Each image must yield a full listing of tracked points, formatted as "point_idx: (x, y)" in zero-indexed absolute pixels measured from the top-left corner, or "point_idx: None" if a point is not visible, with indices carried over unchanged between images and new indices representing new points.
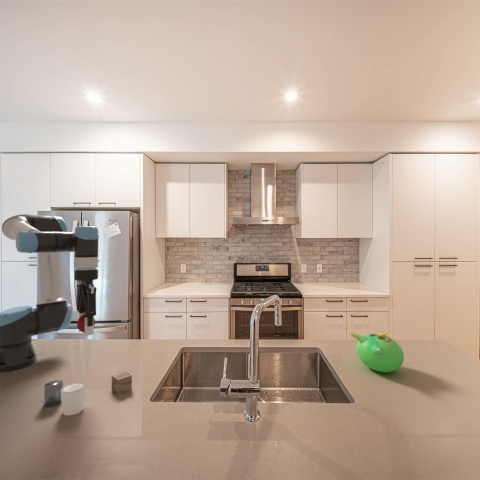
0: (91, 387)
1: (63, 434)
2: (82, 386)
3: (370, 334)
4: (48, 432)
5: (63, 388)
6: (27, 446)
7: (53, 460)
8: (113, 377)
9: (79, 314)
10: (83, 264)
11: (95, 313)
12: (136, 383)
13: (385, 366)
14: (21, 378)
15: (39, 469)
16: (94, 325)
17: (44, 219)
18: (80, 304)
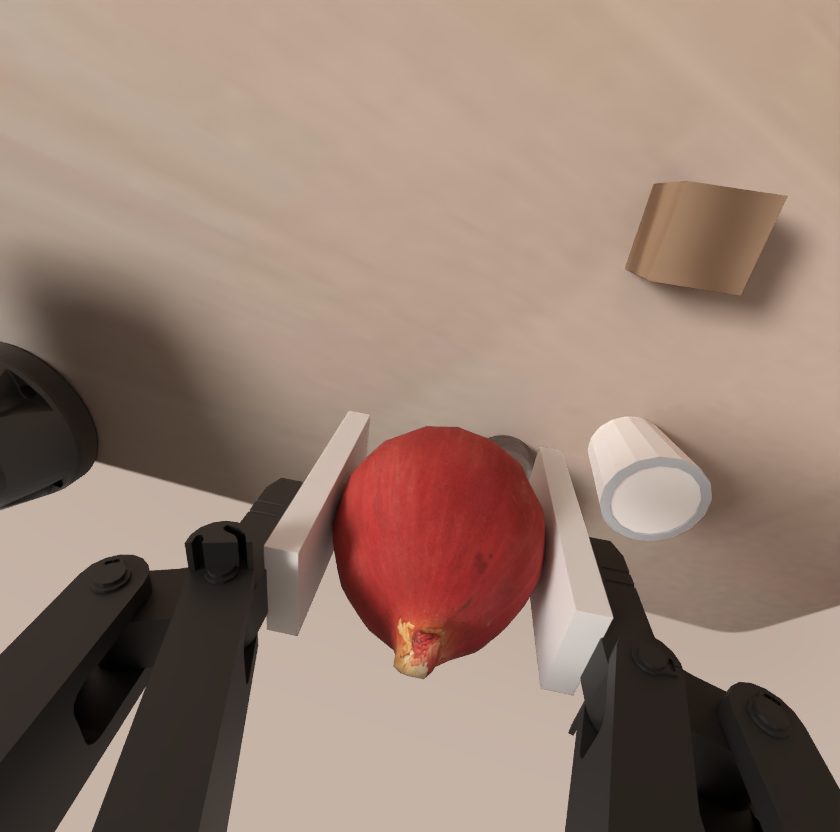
0: (514, 320)
1: (730, 522)
2: (685, 477)
3: None
4: None
5: (620, 525)
6: (678, 583)
7: (811, 577)
8: (677, 284)
9: (287, 624)
10: None
11: (807, 745)
12: (711, 129)
13: None
14: (199, 448)
15: (804, 602)
16: (503, 450)
17: None
18: (225, 820)
